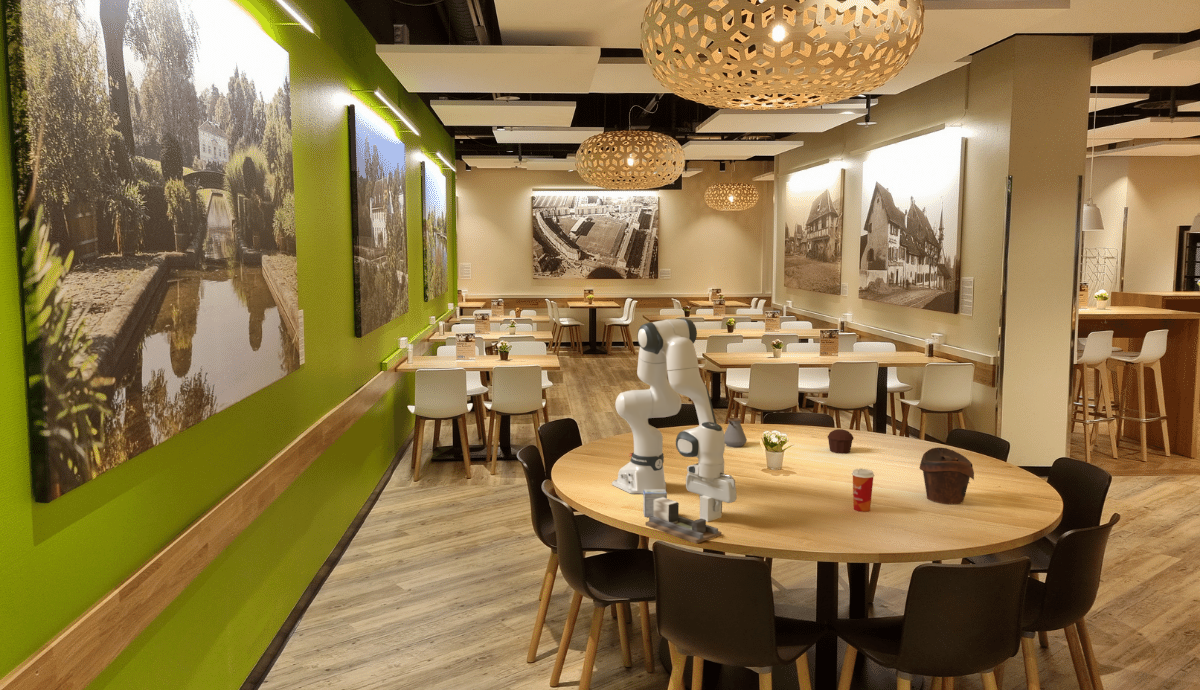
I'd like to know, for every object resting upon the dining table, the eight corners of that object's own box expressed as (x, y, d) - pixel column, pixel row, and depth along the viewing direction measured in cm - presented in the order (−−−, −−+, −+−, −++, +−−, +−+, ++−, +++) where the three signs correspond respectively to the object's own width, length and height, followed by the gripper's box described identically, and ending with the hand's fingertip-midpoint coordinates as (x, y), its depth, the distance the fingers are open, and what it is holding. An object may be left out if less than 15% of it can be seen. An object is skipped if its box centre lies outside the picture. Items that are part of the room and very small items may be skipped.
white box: (699, 519, 279) (700, 496, 278) (714, 514, 284) (714, 492, 283) (707, 521, 276) (707, 498, 275) (722, 516, 281) (722, 494, 280)
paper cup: (847, 505, 293) (849, 468, 292) (869, 506, 293) (870, 468, 291) (853, 512, 286) (855, 474, 284) (876, 513, 285) (877, 474, 284)
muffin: (823, 451, 373) (824, 430, 372) (831, 447, 382) (832, 426, 381) (849, 455, 366) (849, 433, 365) (856, 450, 375) (857, 429, 374)
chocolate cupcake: (954, 510, 288) (957, 461, 286) (906, 496, 304) (909, 449, 303) (984, 503, 297) (987, 455, 295) (936, 490, 314) (939, 444, 312)
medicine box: (665, 512, 286) (665, 489, 285) (667, 517, 281) (667, 492, 280) (643, 513, 285) (643, 489, 284) (644, 517, 281) (644, 492, 280)
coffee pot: (724, 441, 393) (725, 411, 391) (748, 443, 389) (749, 412, 387) (716, 452, 373) (716, 419, 371) (741, 454, 369) (741, 421, 367)
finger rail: (645, 525, 273) (645, 502, 272) (670, 517, 280) (670, 495, 279) (696, 543, 255) (696, 518, 254) (721, 534, 263) (721, 511, 262)
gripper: (740, 474, 272) (740, 514, 274) (695, 462, 287) (695, 500, 289) (728, 478, 268) (727, 518, 270) (683, 465, 283) (682, 504, 285)
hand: (710, 509), depth 279 cm, fingers closed on white box, 4 cm apart
